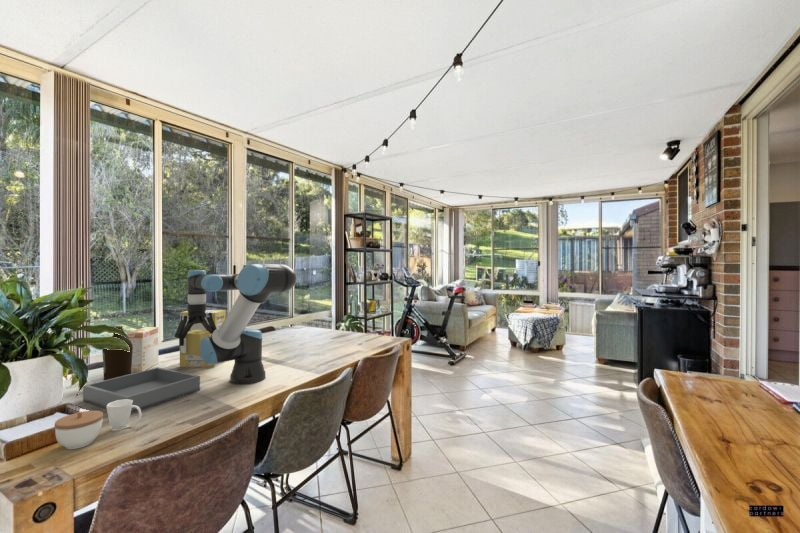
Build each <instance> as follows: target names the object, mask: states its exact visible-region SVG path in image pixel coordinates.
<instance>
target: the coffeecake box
mask: <svg viewBox="0 0 800 533" xmlns="http://www.w3.org/2000/svg"><path fill="white" fill-rule="evenodd" d="M128 337H129V340H130V341H131V342H132V345H133V353H132V367H131V373H136V372H140V371H144V370H149V369H152V368H153V367H155V366H156V365H158V364H159V326H144V327H141V328H139V329H135V330H132V331H128V332H127V338H128Z"/></svg>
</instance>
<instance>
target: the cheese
mask: <svg viewBox="0 0 800 533" xmlns="http://www.w3.org/2000/svg"><path fill="white" fill-rule="evenodd" d="M211 335H212V334H210V333H209V331H206V330H192V331H189V332H188V333H187V335H186V336H185V338H186V353H181V346H180V345H179V344H178V345H179V347H178V348H179V349H178V350H179V356H180V355H197V356H200V355H201V353H200V342H201V340H202V339H203V338H206V337H210V336H211Z"/></svg>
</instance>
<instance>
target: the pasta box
mask: <svg viewBox="0 0 800 533" xmlns="http://www.w3.org/2000/svg"><path fill="white" fill-rule="evenodd" d="M207 312H209V313H212V318H213V321H214V323H215V326H216V328H220V327H221V325H222V324H223V322H224V320H225V319H226V317H227V315H226V309H224V310H223V309H206V311H205V313H207ZM182 315H183V316H188V310H185V311H180V312H179V322H180V321H181V316H182ZM188 320H189V319H188ZM188 320H187V322H188ZM205 320H206V321H207V318H206V317H205ZM187 322H186V324H187ZM207 323H208V321H207ZM208 324H209V323H208ZM185 326H186V325H185ZM209 326H210V325H209ZM184 328H185V327H184ZM192 330H206V329H205V327H204V326H203V325H202V324H201V323H197V324H194V325H193V326H192V327H191V328H190V330H189V331H192ZM206 331H207V330H206ZM224 363H225V362H222V363H218V364H212V365H208V364H206V363H205V362H204V361H203V359H202V356H201V355H200V356H197V355H180V354H179V367H180V368H216V367H218V366H220V365H223V364H224Z"/></svg>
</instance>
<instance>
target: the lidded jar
mask: <svg viewBox="0 0 800 533" xmlns="http://www.w3.org/2000/svg"><path fill="white" fill-rule="evenodd" d="M103 418H104V412H103V411H100V410H87V411H86V410H85V411H77V412H75V413H72V414H68V415H66V416H63V417H61V418H59V419H57V420H56V421H55V422H54V432H55V439H56V441H57V443H58V444H59V445H61V446H62V447H65V450H75V449H77V450H78V449H80V448H84V447H86V446H90V445H91V444H92V443H93V442H94V440H95V439H97V437H98V436H99V434H100V433H101V431H102V428H103Z"/></svg>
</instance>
